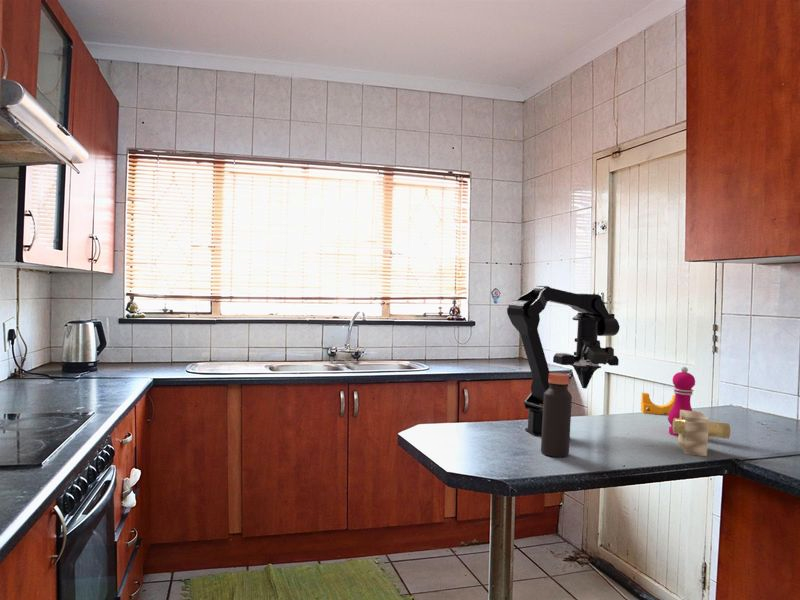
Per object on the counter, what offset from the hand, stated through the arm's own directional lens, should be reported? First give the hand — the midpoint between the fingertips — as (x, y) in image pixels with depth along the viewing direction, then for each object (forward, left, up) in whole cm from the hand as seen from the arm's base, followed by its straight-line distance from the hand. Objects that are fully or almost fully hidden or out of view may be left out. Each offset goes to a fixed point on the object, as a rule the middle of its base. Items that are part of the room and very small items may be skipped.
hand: (584, 388), depth 171 cm
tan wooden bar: (+20, -25, -8) cm, 33 cm away
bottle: (-22, -23, -12) cm, 34 cm away
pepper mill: (+27, -9, -12) cm, 31 cm away
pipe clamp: (+41, +17, -12) cm, 46 cm away
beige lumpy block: (+18, -24, -12) cm, 32 cm away
